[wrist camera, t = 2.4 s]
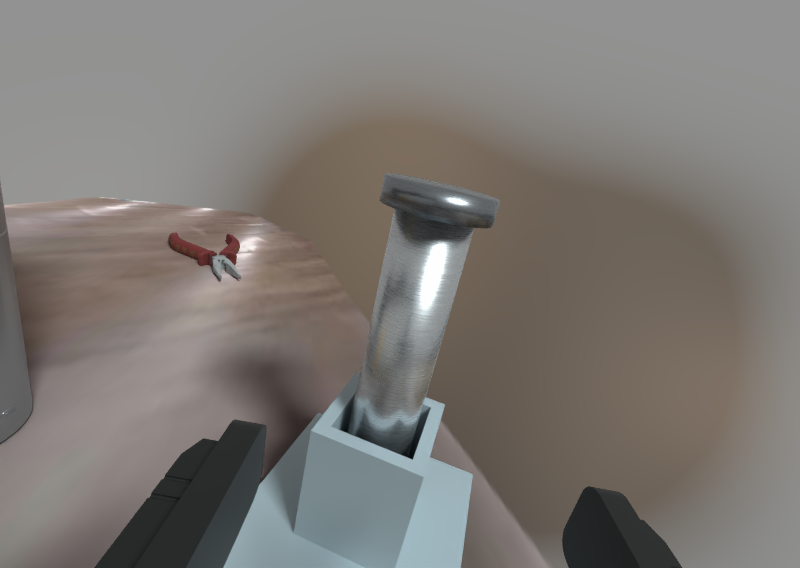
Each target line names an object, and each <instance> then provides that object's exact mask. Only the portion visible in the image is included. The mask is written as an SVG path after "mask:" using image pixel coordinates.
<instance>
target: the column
mask: <svg viewBox="0 0 800 568" xmlns="http://www.w3.org/2000/svg"><path fill="white" fill-rule="evenodd" d="M380 201H381V202H382V203H384V204H386V205H387V206H390V207H392V208H394V209H395V210H394V214H393V219H392V224H391V228H390V233H389V238H388V242H387V247H386V252H385V257H384V261H383V267H382V271H381V276H380V280H379V285H378V290H377V295H376V299H375V304H374V309H373V314H372V318H371V323H370V328H369V332H368V337H367V342H366V347H365V351H364V356H363V361H362V366H361V370H360V375H359V380H358V384H357V389H356V394H355V399H354V403H353V408H352V413H351V418H350V422H349V427H348V432H347V433H348V434H350V435H353V436H355V437H358V438H360V439H363V440H365V441H368V442H370V443H373V444H375V445H378V446H380V447H383V448H385V449H388V450H390V451H392V452H395V453H397V454H400V455H402V456H405V457H407V458H408V456H409V452H410V449H411V445H412V442H413V438H414V435H415V431H416V428H417V425H418V421H419V418H420V414H421V411H422V407H423V404H424V400H425V397H426V393H427V390H428V386H429V383H430V380H431V376H432V372H433V369H434V366H435V362H436V359H437V355H438V352H439V348H440V345H441V341H442V338H443V335H444V331H445V328H446V324H447V321H448V317H449V314H450V310H451V307H452V303H453V300H454V296H455V293H456V290H457V286H458V283H459V279H460V276H461V272H462V269H463V265H464V262H465V259H466V255H467V252H468V248H469V244H470V241H471V238H472V234H473V231H474V228H491V227H492V226H493V223H494V220H495V217H496V213H497V210H498V207H499V203H500V200H498V199H496V198H494V197H491V196H488V195H485V194H482V193H478V192H474V191H471V190H468V189H464V188H460V187H456V186H452V185H448V184H444V183H439V182H435V181H431V180H426V179H421V178H416V177H411V176H405V175H399V174H391V173H385V175H384V180H383V186H382V190H381V195H380Z"/></svg>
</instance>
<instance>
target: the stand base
mask: <svg viewBox="0 0 800 568" xmlns="http://www.w3.org/2000/svg"><path fill="white" fill-rule="evenodd" d="M359 375H360V373H358V372H356V374H355V375H354V376H353V377H352V379H351V380H350V381H349V383H348V384H347V385H346V386H345V388H344V389H343V390H342V392H341V393H340V394H339V395H338V397H337V398H336V399H335V400H334V402H333V403H332V404H331V406H330V407H329V408H328V409H327V411H326V412H325V413H324V414H320V413H317V415H316V416H315V417H314V418H313V419H312V421H311V422H310V423H309V424H308V426H307V427H306V428H305V429H304V431H303V432H302V433H301V434H300V435H299V437H298V438H297V439H296V440H295V442H294V443H293V444H292V445H291V447H290V448H289V449H288V450H287V451H286V453H285V454H284V455H283V456H282V458H281V459H280V460H279V461H278V463H277V464H276V465H275V466H274V467H273V469H272V470H271V471H270V472H269V474H268V475H267V476H266V477H265V479H264V480H263V481H262V482H261V483H260V485H259V486H258V490H257V493H256V495H255V498H254V501H253V503H252V505H251V507H250V510H249V512H248V514H247V516H246V519H245V521H244V523H243V525H242V527H241V530H240V532H239V534H238V536H237V539H236V541H235V543H234V545H233V547H232V550H231V552H230V554H229V556H228V559H227V561H226V563H225V565H224V567H223V568H461V561H462V553H463V546H464V538H465V530H466V523H467V515H468V507H469V499H470V492H471V484H472V476H473V474H471V473H468V472H466V471H463V470H461V469H458V468H456V467H453V466H451V465H448V464H446V463H443V462H441V461H438V460H436V459H433V458H431V457H430V454H431V451H432V447H433V444H434V440H435V437H436V434H437V430H438V427H439V423H440V420H441V416H442V412H443V409H444V406H445V404H442V403H439V402H436V401H434V400H431V399H428V398H426V397H425V400H424V404H423V407H422V411H421V414H420V418H419V421H418V425H417V428H416V431H415V435H414V438H413V442H412V445H411V449H410V452H409V456H408V458H407V457H405V456H402V455H400V454H397V453H395V452H392V451H390V450H388V449H385V448H383V447H380V446H378V445H375V444H373V443H370V442H368V441H365V440H363V439H360V438H358V437H355V436H353V435H350V434H348V433H347V432H348V427H349V422H350V418H351V413H352V408H353V403H354V399H355V394H356V389H357V384H358V380H359Z"/></svg>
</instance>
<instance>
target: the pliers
mask: <svg viewBox="0 0 800 568" xmlns="http://www.w3.org/2000/svg"><path fill="white" fill-rule="evenodd" d="M169 243H170V246H171V248H172V249H173V250H175V251H176V252H178V253H181V254H183V255H186V256H188V257H191V258H193V259H196V260H198V261H199V263H198V264H199V265H200V266H204V265H210V266H211V265H212V267H213V272H214V273H215V274H216V275H217V277H218V278H219V279H220V280H221V268H222V269H226V272H227V273H228V274H230V275H232V276H234V277H237V278H239V279H241V276H240V274H239V273H238V271H237V269H236V268H235V266H234V265H235V264H236V258H237V256H236V254H237V253H238V251H239V248H240V244H239V241H238V240H237V239H236V238H235V237H234V236H233V235H230V234H227V236H226V243H227V244H228V246H227V247H226V248H225V249H223V250H222V251H221V252H220V255H219V256H216V255H217V253H215V252H214V251H210V250H207V249H204V248H202V247H199V246H197V245H194V244H191V243H189V242H186V241H184V240H182V239H180V238H179V237H178V235H177V233H171V234H170V236H169Z"/></svg>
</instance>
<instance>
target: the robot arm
mask: <svg viewBox="0 0 800 568" xmlns="http://www.w3.org/2000/svg"><path fill="white" fill-rule="evenodd" d="M32 406H33V401H32V395H31V388H30V381H29V374H28V367H27V358H26V351H25V344H24V338H23V331H22V324H21V317H20V310H19V304H18V297H17V290H16V283H15V276H14V270H13V263H12V256H11V249H10V242H9V236H8V229H7V224H6V217H5V210H4V204H3V197H2V191H1V183H0V443H1V442H2V441H4V440H5V439H7V438H8V437H9V436H11V435H12V434H13V433H15V432H16V431H17V430H18V429H19V428H20V427H21V426H22V425H23V424H24V423H25V422H26V421H27V419H28V417H29V416H30V414H31V412H32ZM265 438H266V425H262V424H257V423H251V422H246V421H240V420H233V421H232V422H231V423H230V425H229V426H228V428H227V429H226V431H225V432H224V434H223V435H222V437H221V438H220V440H219V441H214V440H209V439H202V440H201V441H199V442H198V443H196V444H195V445H193V446H192V447H191V448H189V449H188V450H186V451H185V452H183V453H182V454H181V455H180V456H179V458H178V459H177V460H176V461H175V463H174V464H173V465H172V467H171V468H170V469H169V471H168V472H167V473H166V475H165V478H164V479H162V480H161V481H160V482H159V484H158V485H157V486H156V488H155V489H154V490H153V492H152V493H151V496H150V498H147V499H146V501H145V502H144V503H143V505H142V506H141V507H140V509H139V510H138V511H137V513H136V514H135V515H134V517H133V518H132V519H131V520H130V522H129V523H128V524H127V526H126V527H125V528H124V530H123V531H122V532H121V534H120V535H119V536H118V538H117V539H116V540H115V541H114V543H113V544H112V545H111V547H110V548H109V549H108V551H107V552H106V553H105V555H104V556H103V557H102V559H101V560H100V561H99V562H98V564H97V565H96V566H95V568H223V567H224V565H225V563H226V561H227V559H228V556H229V554H230V552H231V550H232V547H233V545H234V543H235V541H236V539H237V536H238V534H239V532H240V530H241V527H242V525H243V523H244V521H245V519H246V516H247V514H248V512H249V510H250V507H251V505H252V503H253V501H254V498H255V495H256V493H257V490H258V486H259V483H260V479H261V473H262V465H263V456H264V447H265ZM562 541H563V551H564V556H565V559H566V561H567V564H568V567H569V568H682V567H681V565H680V564H679V562H678V561H677V559H676V558H675V556H674V555H673V553H672V552H671V550H670V549H669V547H668V545H667V544H666V543H665V542H664V541H663V540H662V539H661V537H660V536H658V535H657V533H655V531H654V530H652V528H651V527H650V526H649V525H648V524H647V523H646V522H645V521H644V520H640V519H639V517H638V516H637V514H636V512H635V511H634V509H633V508H632V506H631V504H630V503H629V501H628V500H627V498H626V497H625V496H624V495H623V494H621V493H620V492H616V491H611V490H606V489H600V488H595V487H586V488H585V489H584V490H583V492H582V494H581V496H580V498H579V500H578V502H577V504H576V506H575V508H574V510H573V512H572V514H571V516H570V518H569V520H568V522H567V524H566V526H565V528H564V531H563V540H562Z"/></svg>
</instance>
